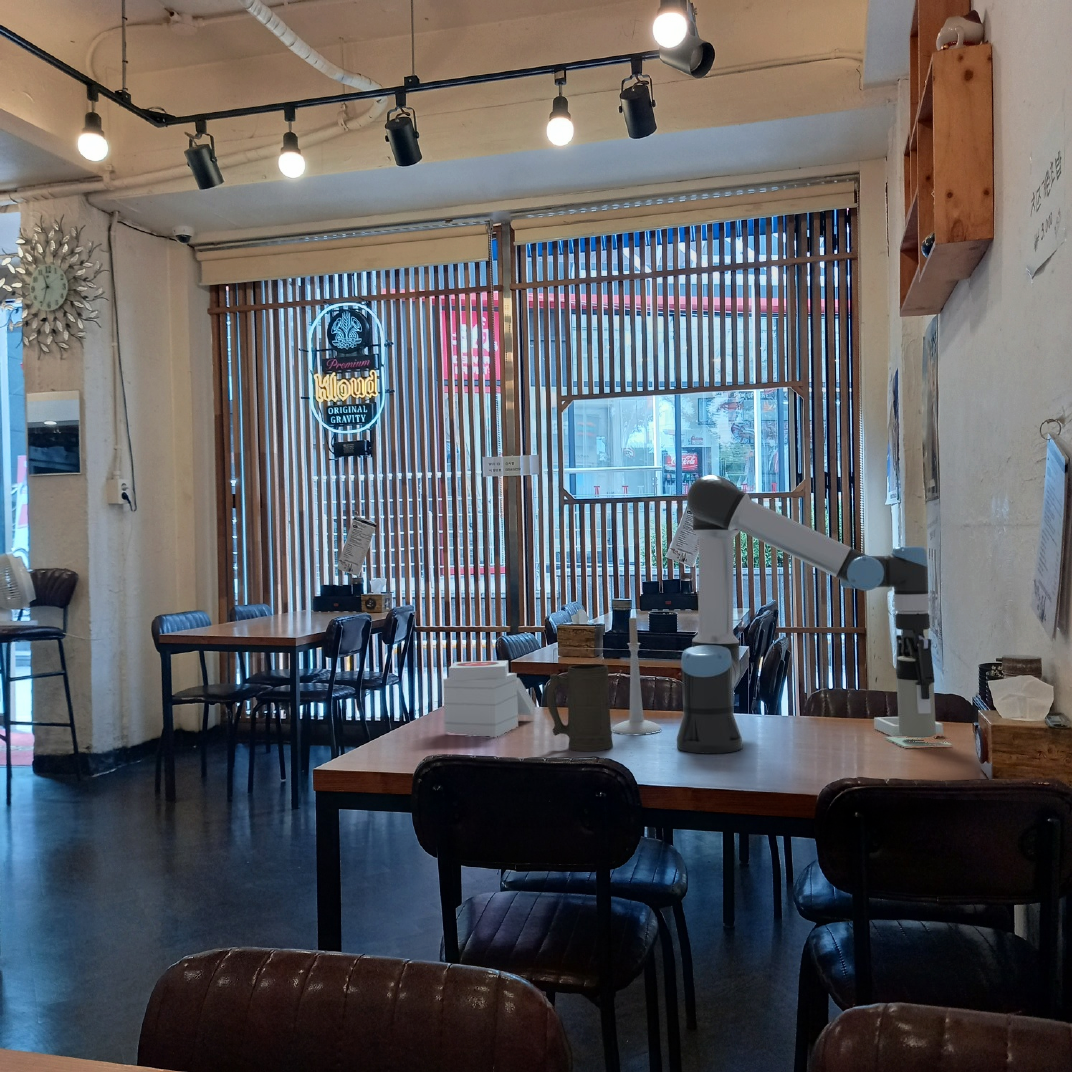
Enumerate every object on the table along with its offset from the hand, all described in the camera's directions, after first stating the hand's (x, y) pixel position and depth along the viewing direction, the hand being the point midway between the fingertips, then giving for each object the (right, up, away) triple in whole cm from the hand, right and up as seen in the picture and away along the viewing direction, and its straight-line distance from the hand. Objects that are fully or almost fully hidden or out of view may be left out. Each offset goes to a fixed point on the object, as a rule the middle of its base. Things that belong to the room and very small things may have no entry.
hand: (916, 710), depth 215 cm
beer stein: (-78, -11, +7) cm, 79 cm away
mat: (0, -8, 0) cm, 8 cm away
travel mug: (0, -6, 0) cm, 6 cm away
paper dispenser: (-101, -12, +38) cm, 109 cm away
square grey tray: (+3, -8, +12) cm, 15 cm away
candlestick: (-62, -11, +27) cm, 69 cm away
